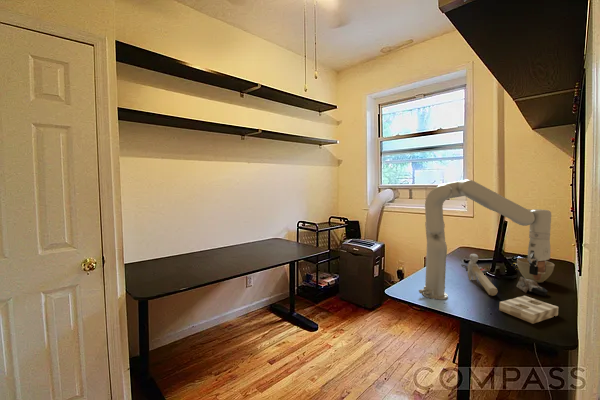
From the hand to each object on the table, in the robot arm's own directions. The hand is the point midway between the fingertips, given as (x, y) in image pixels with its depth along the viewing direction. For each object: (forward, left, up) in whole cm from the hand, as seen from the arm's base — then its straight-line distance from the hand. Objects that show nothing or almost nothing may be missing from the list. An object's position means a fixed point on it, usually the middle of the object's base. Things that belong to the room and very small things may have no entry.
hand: (537, 273), depth 134 cm
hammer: (+8, +31, -19) cm, 37 cm away
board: (-5, 0, -18) cm, 19 cm away
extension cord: (+71, +48, -19) cm, 88 cm away
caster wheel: (+27, +14, -19) cm, 36 cm away
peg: (0, 0, -3) cm, 3 cm away
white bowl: (+50, +25, -19) cm, 59 cm away
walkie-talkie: (+33, +54, -19) cm, 66 cm away
